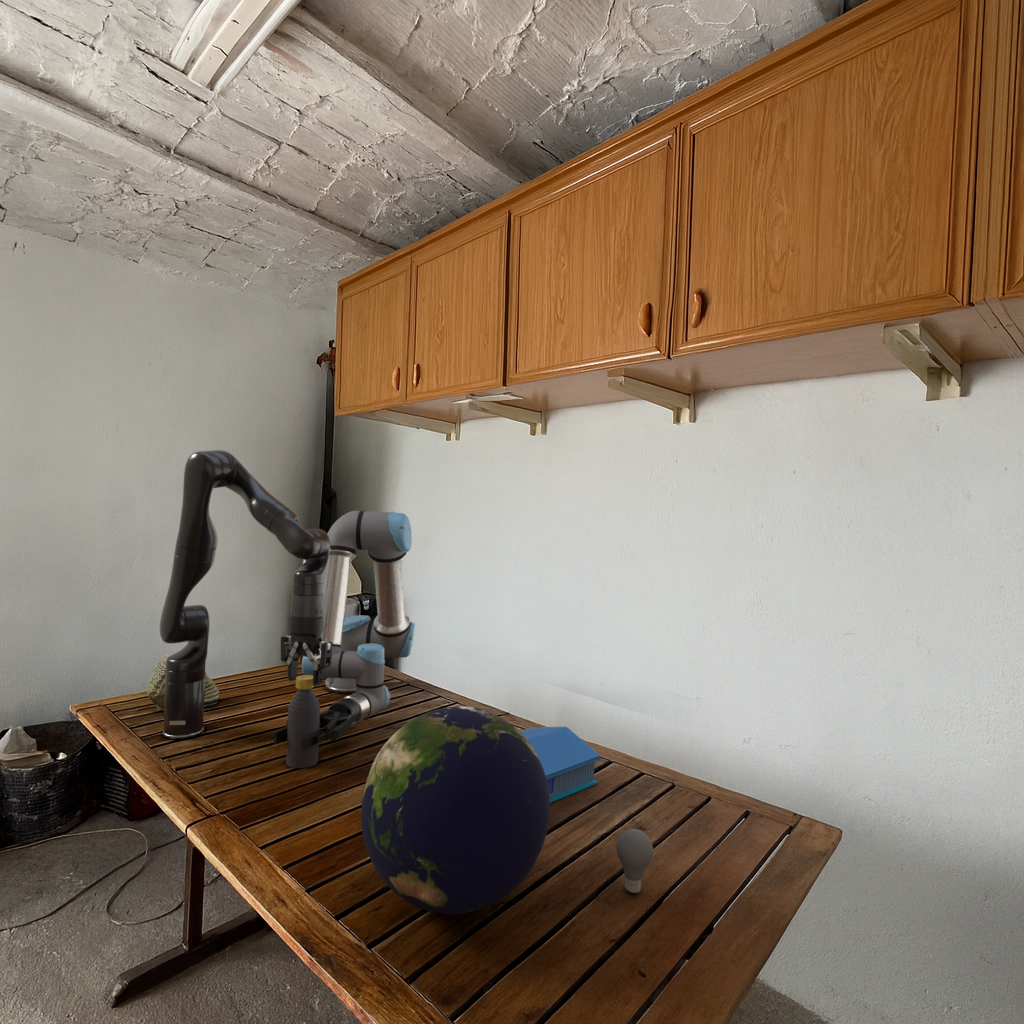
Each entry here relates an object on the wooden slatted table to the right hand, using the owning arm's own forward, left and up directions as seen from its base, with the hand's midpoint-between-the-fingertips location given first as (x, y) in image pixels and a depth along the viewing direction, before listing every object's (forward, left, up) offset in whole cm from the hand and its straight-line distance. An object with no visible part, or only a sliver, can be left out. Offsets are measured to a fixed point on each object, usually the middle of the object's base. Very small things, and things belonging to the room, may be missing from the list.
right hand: (289, 740), depth 146 cm
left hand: (-4, +2, +12) cm, 13 cm away
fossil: (-42, -42, -7) cm, 59 cm away
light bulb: (+45, +69, -7) cm, 83 cm away
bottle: (-4, +2, -7) cm, 8 cm away
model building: (+10, +50, -7) cm, 52 cm away
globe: (+47, +39, -7) cm, 61 cm away
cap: (-4, +2, +13) cm, 14 cm away
